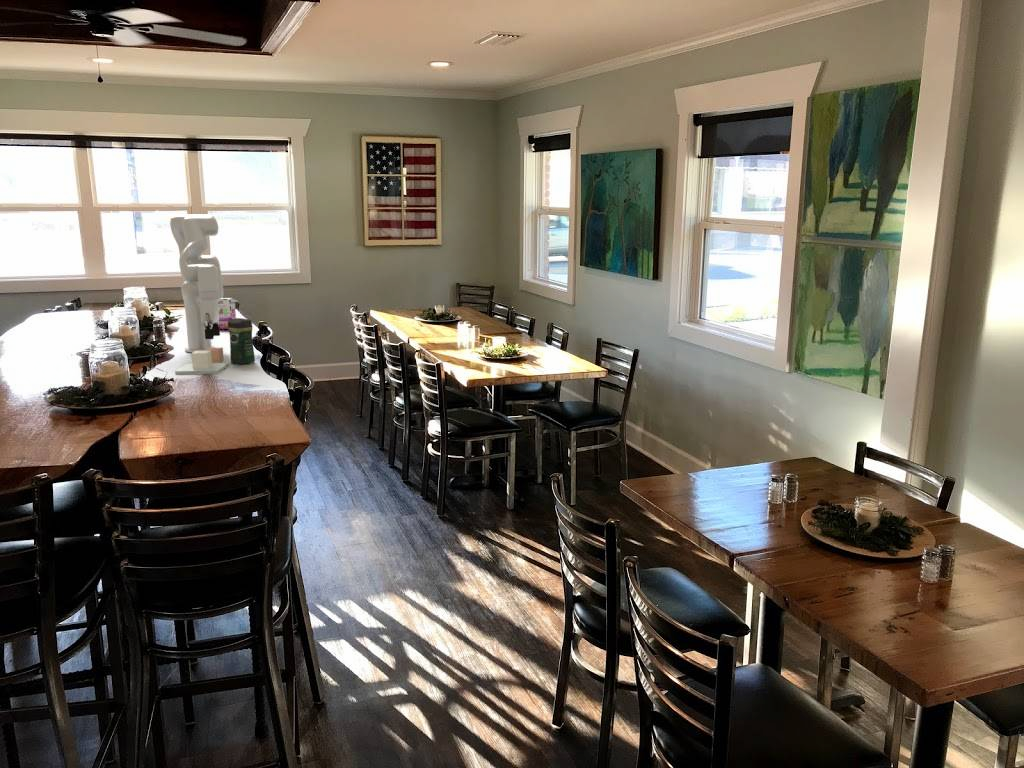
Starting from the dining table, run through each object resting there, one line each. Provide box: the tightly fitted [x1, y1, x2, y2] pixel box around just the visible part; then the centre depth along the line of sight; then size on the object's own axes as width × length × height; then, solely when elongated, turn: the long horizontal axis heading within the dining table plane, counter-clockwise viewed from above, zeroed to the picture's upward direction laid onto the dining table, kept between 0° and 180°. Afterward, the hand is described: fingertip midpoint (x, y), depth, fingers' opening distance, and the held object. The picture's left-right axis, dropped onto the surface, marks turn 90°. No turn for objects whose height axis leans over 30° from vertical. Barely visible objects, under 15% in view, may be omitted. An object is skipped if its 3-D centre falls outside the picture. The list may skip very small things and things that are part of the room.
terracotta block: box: [204, 347, 225, 363], centre depth 334 cm, size 6×6×6 cm
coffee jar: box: [227, 317, 256, 365], centre depth 333 cm, size 10×8×19 cm
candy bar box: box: [217, 297, 237, 329], centre depth 419 cm, size 11×5×16 cm, turn 81°
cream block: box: [190, 351, 212, 368], centre depth 320 cm, size 6×6×6 cm
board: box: [175, 362, 229, 375], centre depth 320 cm, size 16×16×1 cm
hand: (212, 337), depth 331 cm, fingers open, 9 cm apart
